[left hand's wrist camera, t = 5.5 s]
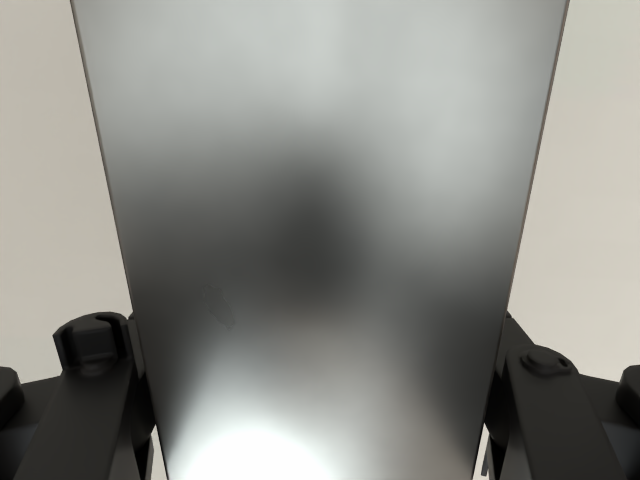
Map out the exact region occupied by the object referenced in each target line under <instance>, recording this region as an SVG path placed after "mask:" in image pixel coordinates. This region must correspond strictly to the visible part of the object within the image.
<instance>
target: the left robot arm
mask: <svg viewBox="0 0 640 480" xmlns="http://www.w3.org/2000/svg"><path fill="white" fill-rule="evenodd" d="M52 336H53V339H54V342H55V346H56V349H57V352H58V356H59V359H60V362H61V366H62V369H63V371H62V373H61V375H60V376H57V377H53V378H48V379H43V380H38V381H34V382H29V383H24V384H21V383H20V381H19V378H18V375H17V372H16V371H14V370H13V369H11V368H9V367H0V480H151V473H152V463H153V454H154V448H153V442H152V437H151V433H152V431H153V428H154V426H155V424H156V422H155V417H154V412H153V407H152V402H151V397H150V392H149V387H148V382H147V377H146V373H145V368H144V363H143V358H142V353H141V348H140V343H139V338H138V333H137V328H136V323H135V318H134V313H133V312H132V314H131V315H130V316H129V317H128V320H127V319H126V317H124V316H123V315H122V314H119V313H114V312H97V313H93V314H88V315H84V316H81V317H79V318H76V319H74V320H71V321H69V322H68V323H66V324H64V325H63V326H61V327H60V328H59V329H58V330H57V331H56V332H55V333H54V334H53V335H52ZM484 423H485V425H486V427H487V429H488V431H489V437H488V442H487V447H486V451H485V456H484V461H483V465H482V471H481V475H482V476H486V475H487V471H488V472H489V480H640V365H633V366H629V367H628V368H626V369H625V370H624V371H623V374H622V377H621V379H620V382H615V381H610V380H605V379H600V378H595V377H590V376H586V375H582V374H579V372H578V370H577V368H576V367H575V366H574V364H573V363H572V362H571V361H570V360H569V359H567V358H566V357H565V356H563V355H562V354H560V353H558V352H556V351H554V350H552V349H549V348H547V347H543V346H539V345H535V344H534V343H533V342H532V340H531V339H530V338H529V337H528V336H527V334H526V333H525V332H524V331H523V329H522V328H521V327H520V326H519V324H518V323H517V322H516V321H515V320H514V318H512V316H511V315H510V313H509V312H508V311H507V312H506V317H505V322H504V327H503V332H502V337H501V342H500V347H499V352H498V357H497V361H496V366H495V371H494V376H493V381H492V386H491V391H490V396H489V401H488V406H487V411H486V416H485V421H484Z"/></svg>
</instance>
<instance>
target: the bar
mask: <svg viewBox="0 0 640 480" xmlns="http://www.w3.org/2000/svg"><path fill="white" fill-rule="evenodd" d="M569 1H570V0H70V3H71V8H72V13H73V18H74V23H75V28H76V33H77V38H78V43H79V47H80V52H81V57H82V62H83V67H84V72H85V77H86V82H87V87H88V92H89V97H90V102H91V107H92V111H93V116H94V121H95V126H96V131H97V136H98V141H99V146H100V151H101V156H102V161H103V166H104V171H105V176H106V180H107V185H108V190H109V195H110V200H111V205H112V210H113V215H114V220H115V225H116V230H117V235H118V240H119V244H120V249H121V254H122V259H123V264H124V269H125V274H126V279H127V284H128V289H129V294H130V299H131V304H132V308H133V313H134V318H135V323H136V328H137V333H138V338H139V343H140V348H141V353H142V358H143V363H144V368H145V373H146V377H147V382H148V387H149V392H150V397H151V402H152V407H153V412H154V417H155V422H156V427H157V432H158V437H159V441H160V446H161V451H162V456H163V461H164V466H165V471H166V476H167V480H473V475H474V470H475V465H476V460H477V455H478V450H479V445H480V440H481V435H482V431H483V426H484V421H485V416H486V411H487V406H488V401H489V396H490V391H491V386H492V381H493V376H494V371H495V366H496V361H497V357H498V352H499V347H500V342H501V337H502V332H503V327H504V322H505V317H506V312H507V307H508V302H509V297H510V292H511V287H512V283H513V278H514V273H515V268H516V263H517V258H518V253H519V248H520V243H521V238H522V233H523V228H524V223H525V218H526V213H527V209H528V204H529V199H530V194H531V189H532V184H533V179H534V174H535V169H536V164H537V159H538V154H539V149H540V144H541V139H542V135H543V130H544V125H545V120H546V115H547V110H548V105H549V100H550V95H551V90H552V85H553V80H554V75H555V70H556V65H557V61H558V56H559V51H560V46H561V41H562V36H563V31H564V26H565V21H566V16H567V11H568V6H569Z"/></svg>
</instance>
